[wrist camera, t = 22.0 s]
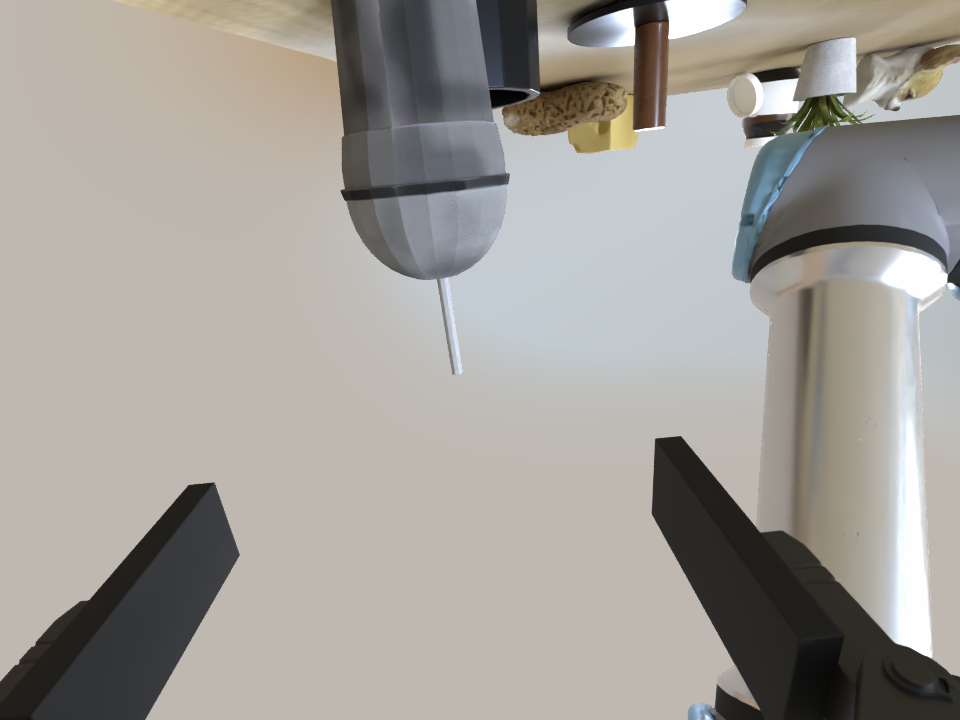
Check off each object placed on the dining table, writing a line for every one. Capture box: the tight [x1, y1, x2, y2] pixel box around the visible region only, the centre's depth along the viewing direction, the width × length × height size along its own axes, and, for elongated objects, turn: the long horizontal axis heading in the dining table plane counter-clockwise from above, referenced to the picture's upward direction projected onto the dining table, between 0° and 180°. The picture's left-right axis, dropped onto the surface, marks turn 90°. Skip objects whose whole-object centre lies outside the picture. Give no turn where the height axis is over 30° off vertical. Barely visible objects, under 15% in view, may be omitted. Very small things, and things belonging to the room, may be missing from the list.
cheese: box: [568, 95, 638, 154], centre depth 99 cm, size 10×11×10 cm
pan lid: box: [567, 0, 747, 131], centre depth 43 cm, size 14×14×9 cm
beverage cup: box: [331, 0, 510, 375], centre depth 20 cm, size 7×7×20 cm
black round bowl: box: [476, 0, 540, 109], centre depth 35 cm, size 13×13×6 cm
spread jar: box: [727, 68, 800, 147], centre depth 86 cm, size 12×11×12 cm
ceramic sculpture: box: [842, 45, 960, 111], centre depth 74 cm, size 11×9×15 cm
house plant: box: [770, 38, 873, 134], centre depth 66 cm, size 14×14×16 cm
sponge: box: [502, 81, 628, 136], centre depth 79 cm, size 13×8×20 cm
